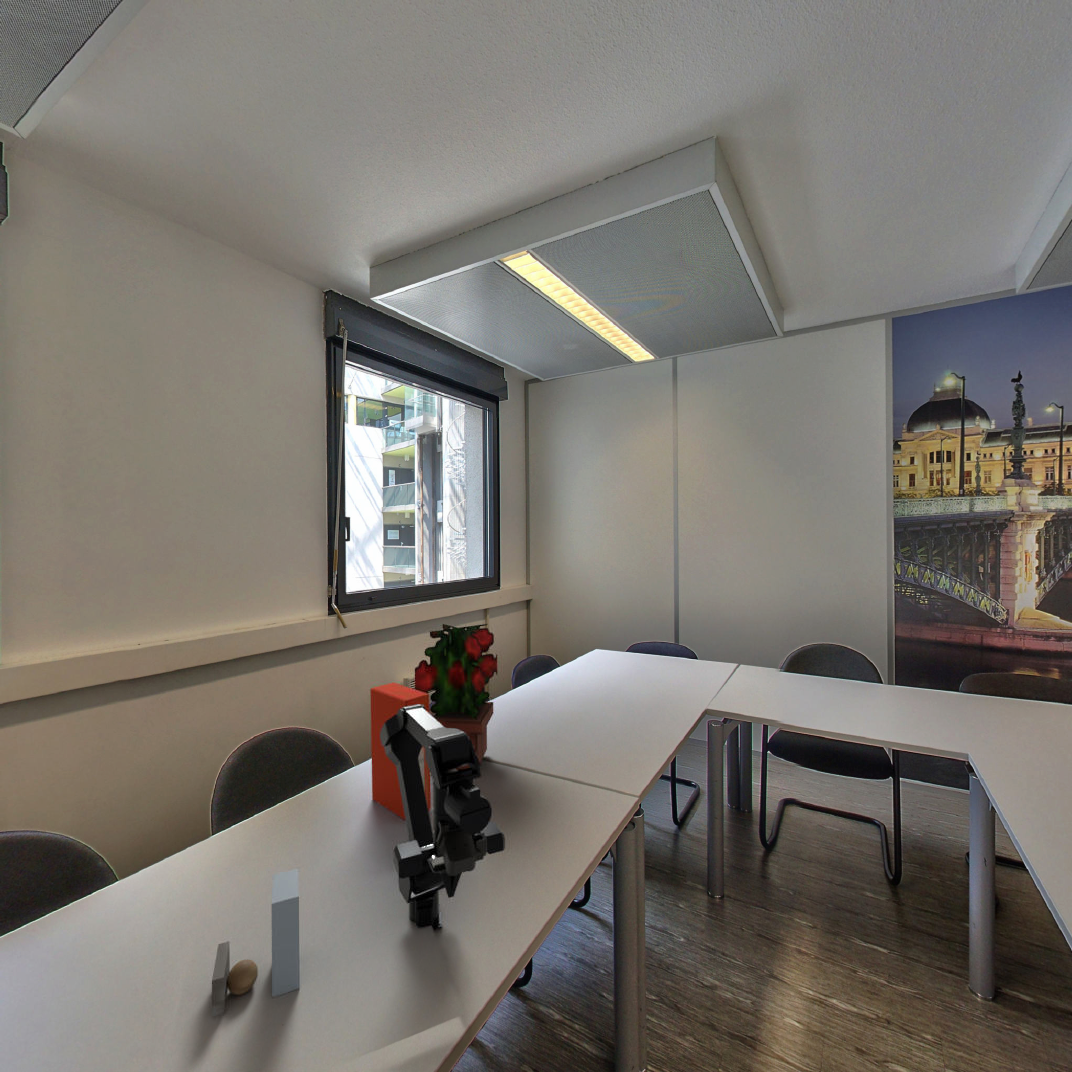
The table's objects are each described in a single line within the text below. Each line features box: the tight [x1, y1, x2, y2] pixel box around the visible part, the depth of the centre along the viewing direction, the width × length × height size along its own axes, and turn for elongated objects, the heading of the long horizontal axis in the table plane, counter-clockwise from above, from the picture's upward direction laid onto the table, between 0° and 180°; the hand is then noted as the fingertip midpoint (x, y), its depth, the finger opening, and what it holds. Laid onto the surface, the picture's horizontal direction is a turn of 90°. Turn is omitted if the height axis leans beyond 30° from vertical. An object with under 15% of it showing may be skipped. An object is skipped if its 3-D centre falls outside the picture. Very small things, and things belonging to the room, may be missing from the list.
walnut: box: [227, 959, 259, 996], centre depth 85 cm, size 4×4×4 cm
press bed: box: [211, 940, 231, 1019], centre depth 88 cm, size 20×11×7 cm, turn 115°
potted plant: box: [414, 623, 498, 771], centre depth 173 cm, size 22×22×45 cm
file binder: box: [370, 682, 432, 821], centre depth 147 cm, size 8×17×32 cm, turn 47°
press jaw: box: [270, 868, 301, 998], centre depth 88 cm, size 4×8×15 cm, turn 25°
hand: (450, 896), depth 92 cm, fingers closed
